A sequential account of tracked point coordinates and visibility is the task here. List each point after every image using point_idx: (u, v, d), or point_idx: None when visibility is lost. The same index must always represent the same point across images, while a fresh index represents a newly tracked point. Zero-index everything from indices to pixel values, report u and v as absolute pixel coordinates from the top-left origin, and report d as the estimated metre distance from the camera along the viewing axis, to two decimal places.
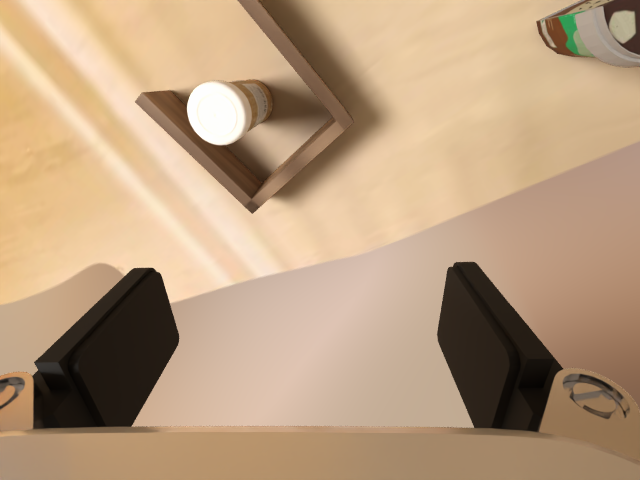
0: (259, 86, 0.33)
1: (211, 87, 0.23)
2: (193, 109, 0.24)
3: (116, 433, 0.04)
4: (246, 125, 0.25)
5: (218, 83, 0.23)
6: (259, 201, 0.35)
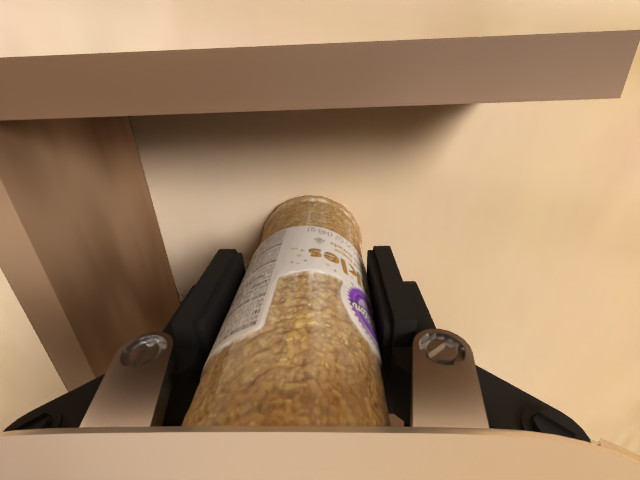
0: None
1: None
2: None
3: (116, 433, 0.04)
4: None
5: None
6: None
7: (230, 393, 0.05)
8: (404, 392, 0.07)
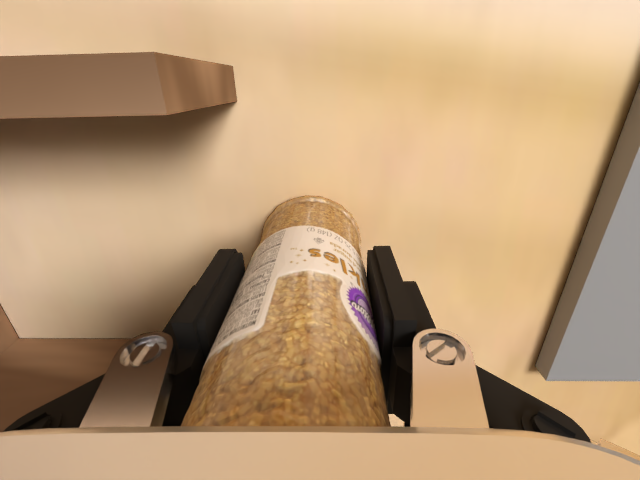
0: None
1: None
2: None
3: (116, 433, 0.04)
4: None
5: None
6: None
7: (229, 392, 0.05)
8: (404, 392, 0.07)
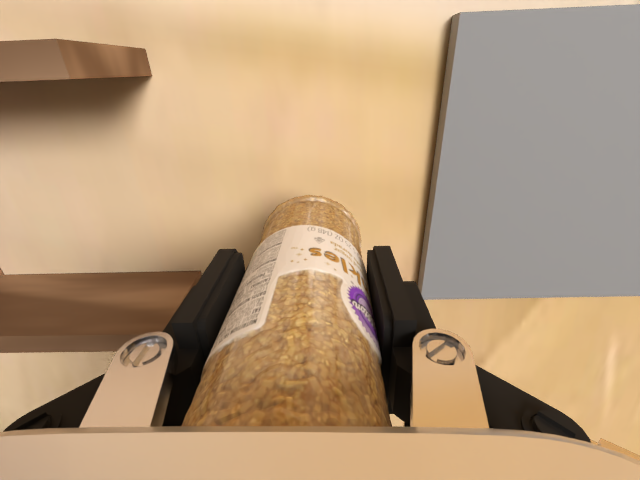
0: None
1: None
2: None
3: (116, 433, 0.04)
4: None
5: None
6: None
7: (231, 390, 0.05)
8: (404, 392, 0.07)
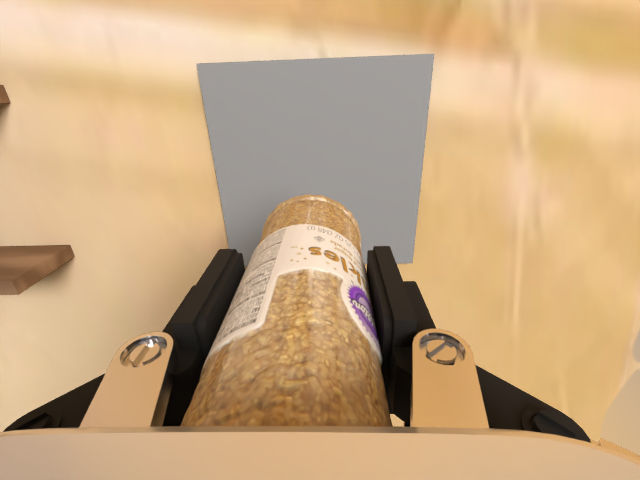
0: None
1: None
2: None
3: (116, 433, 0.04)
4: None
5: None
6: None
7: (229, 391, 0.05)
8: (404, 392, 0.07)
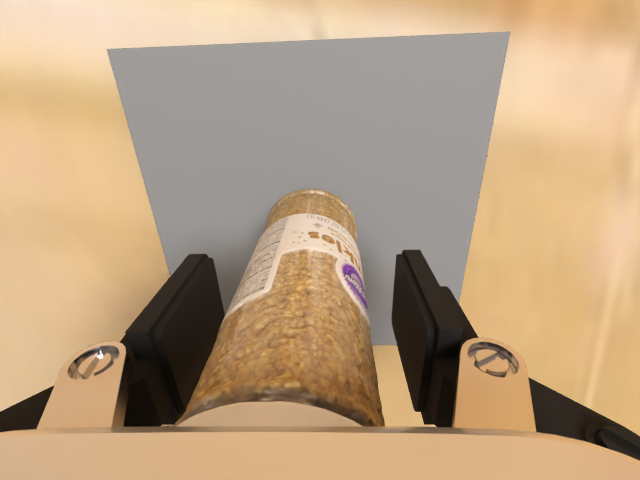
0: None
1: None
2: None
3: (116, 433, 0.04)
4: None
5: None
6: None
7: (245, 336, 0.07)
8: (450, 404, 0.07)
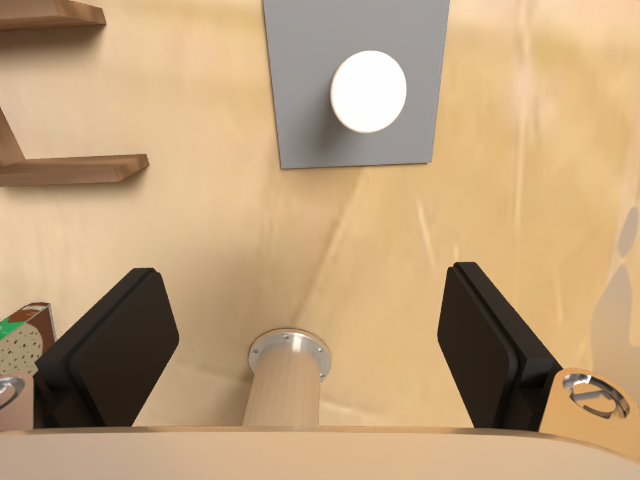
0: None
1: (392, 114, 0.20)
2: (393, 75, 0.19)
3: (116, 433, 0.04)
4: (335, 114, 0.20)
5: (389, 123, 0.20)
6: None
7: None
8: None
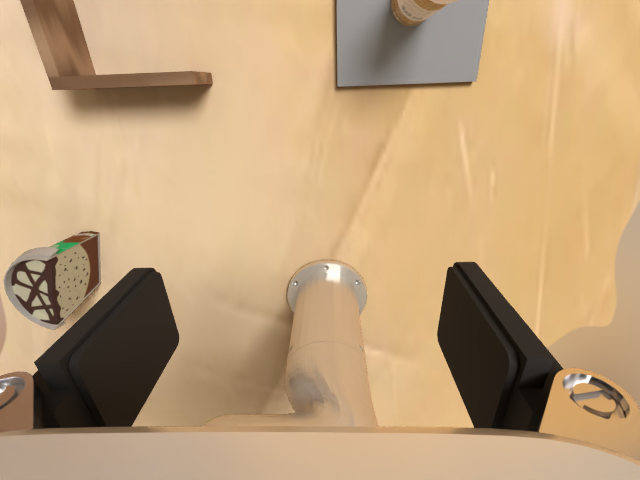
0: (419, 20, 0.33)
1: None
2: None
3: (116, 433, 0.04)
4: None
5: None
6: None
7: None
8: None
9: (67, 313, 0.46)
